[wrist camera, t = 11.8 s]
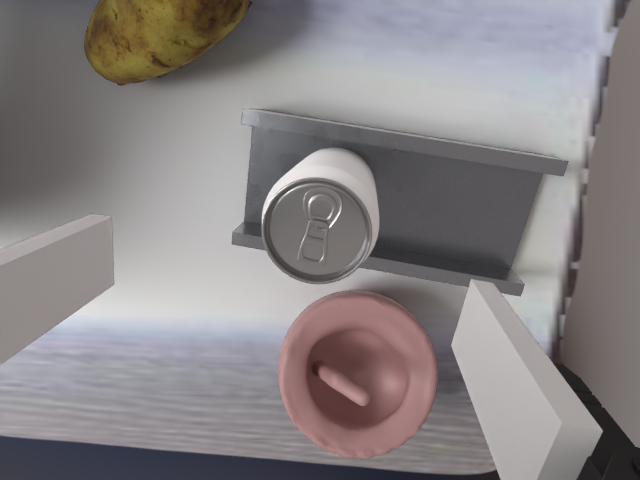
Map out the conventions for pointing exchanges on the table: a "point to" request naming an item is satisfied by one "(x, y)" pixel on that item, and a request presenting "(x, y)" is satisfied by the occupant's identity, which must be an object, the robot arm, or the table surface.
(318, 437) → the mortar and pestle
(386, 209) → the track
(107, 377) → the table surface
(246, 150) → the table surface
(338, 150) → the can
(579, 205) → the table surface
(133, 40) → the potato
